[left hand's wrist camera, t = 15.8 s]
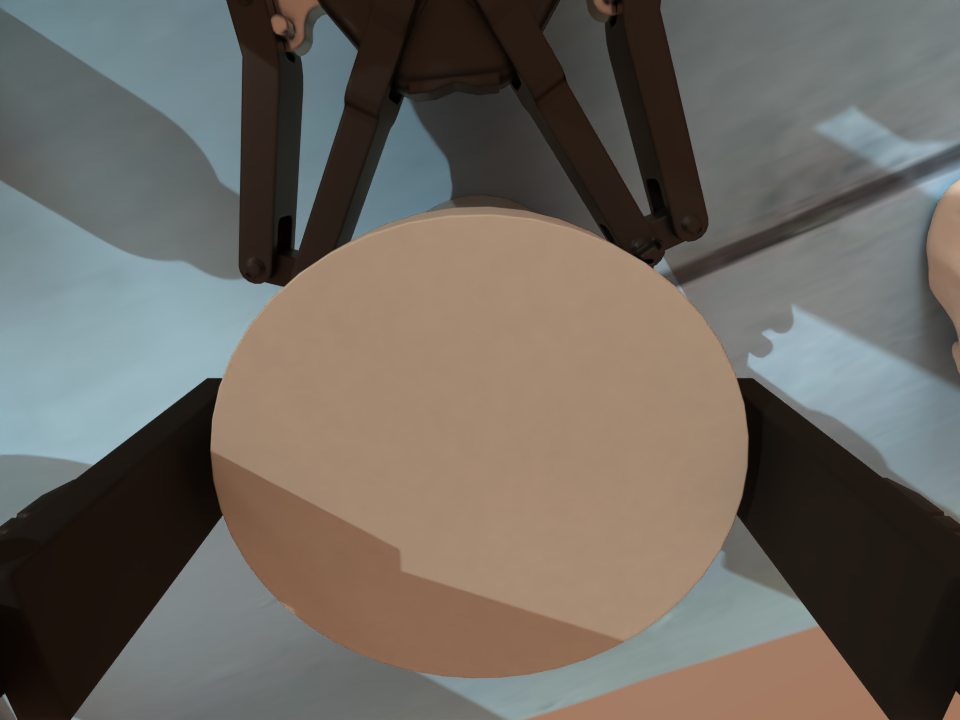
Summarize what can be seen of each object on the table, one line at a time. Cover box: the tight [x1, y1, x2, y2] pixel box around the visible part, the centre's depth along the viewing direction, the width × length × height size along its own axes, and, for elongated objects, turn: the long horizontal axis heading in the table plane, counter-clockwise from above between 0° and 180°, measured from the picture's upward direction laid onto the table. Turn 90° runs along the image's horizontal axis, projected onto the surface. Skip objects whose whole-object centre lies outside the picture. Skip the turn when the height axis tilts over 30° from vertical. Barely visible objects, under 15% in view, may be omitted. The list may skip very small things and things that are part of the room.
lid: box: [211, 207, 748, 678], centre depth 11 cm, size 11×11×2 cm
